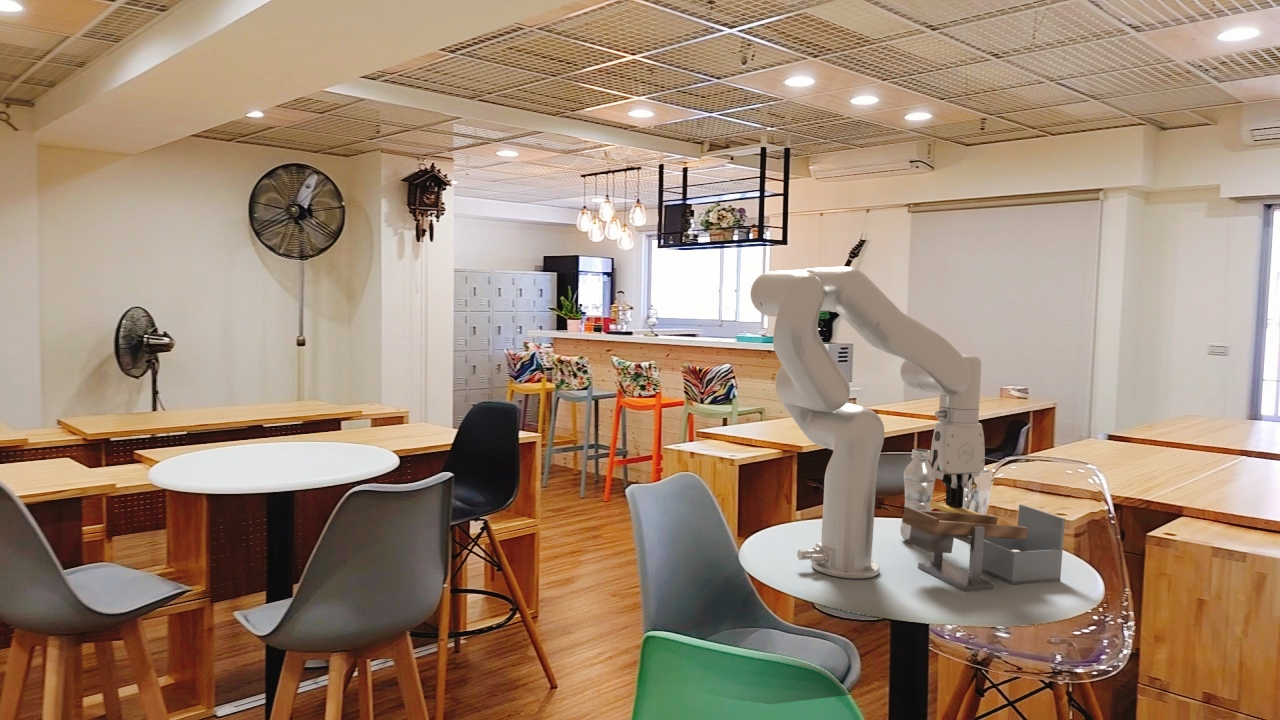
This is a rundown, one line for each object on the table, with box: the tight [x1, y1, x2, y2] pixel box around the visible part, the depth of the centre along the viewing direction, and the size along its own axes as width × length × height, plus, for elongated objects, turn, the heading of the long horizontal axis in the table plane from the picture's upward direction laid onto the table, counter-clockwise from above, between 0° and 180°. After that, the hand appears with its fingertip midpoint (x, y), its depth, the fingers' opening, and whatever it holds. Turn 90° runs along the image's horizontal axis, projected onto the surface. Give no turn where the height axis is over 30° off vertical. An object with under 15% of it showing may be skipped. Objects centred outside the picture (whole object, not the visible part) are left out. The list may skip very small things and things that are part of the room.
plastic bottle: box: [899, 448, 936, 542], centre depth 188 cm, size 6×7×20 cm
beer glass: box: [963, 468, 992, 538], centre depth 195 cm, size 7×7×15 cm
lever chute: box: [901, 500, 1028, 554], centre depth 169 cm, size 21×19×6 cm
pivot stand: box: [917, 526, 995, 592], centre depth 164 cm, size 6×14×11 cm, turn 18°
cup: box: [982, 504, 1066, 585], centre depth 169 cm, size 11×11×12 cm
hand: (954, 505), depth 177 cm, fingers closed
